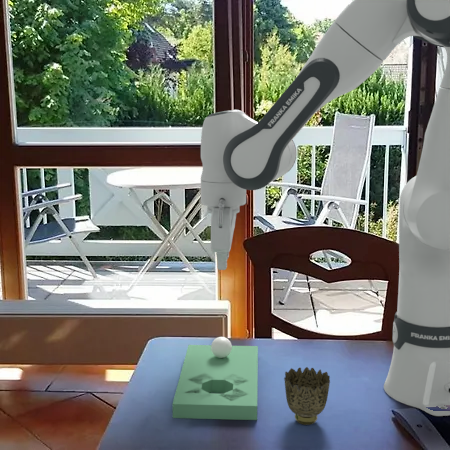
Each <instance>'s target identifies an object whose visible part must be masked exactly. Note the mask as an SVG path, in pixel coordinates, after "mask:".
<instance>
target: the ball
mask: <svg viewBox="0 0 450 450" xmlns="http://www.w3.org/2000/svg"><path fill="white" fill-rule="evenodd" d="M210 345H211V350H212V353H213V354H214V355H215V356H216V357H218V358H225V357H227V356H228V355H229V354H230V353H231V350H232V346H233V345H232V342H231V340H230V339H228V338H227V337H225V336H218V337H216V338H214V340H213V341H212V342H211V344H210Z"/></svg>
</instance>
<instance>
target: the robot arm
mask: <svg viewBox="0 0 450 450" xmlns="http://www.w3.org/2000/svg"><path fill="white" fill-rule="evenodd" d="M410 37H414V38H415V39H418V40H421V41H423V42H426V43H428V44H431V45H433V46H435V47H439V48H444V50H445V52H446V65H445V69H444V73H443V77H442V79H441V81H440V86H439V87H438V92H437V95H436V98H435V101H434V104H433V107H432V111H431V113H430V118H429V120H428V123H427V127H426V129H425V132H424V137H423V144H422V145H423V146H422V150H421V155H420V159H419V163H418V169H417V173H416V175H415V176H414V177H412V178H411V179H409V180H408V181H407V183H406V184H405V185H404V187H403V189H402V190H401V192H400V195H399V196H400V198H399V214H398V215H399V217H398V219H399V221H398V226H399V227H398V233H399V234H398V252H399V253H398V256H399V257H398V258H399V260H398V263H399V265H398V266H399V270H398V271H399V272H398V274H399V275H398V290H397V293H398V294H397V308H396V309H397V311H396V312H395V314H394V319H393V323H392V343H393V351H392V352H393V353H392V356H391V361H390V366H389V370H388V373H387V376H386V379H385V381H384V384H383V389H384V392H385V393H386V394H387V395H388V396H389V397H391V399H393V400H395V401H397V402H399V403H402V404H404V405H407V406H409V407H413V408H417V409H420V410H422V411H423V412H425V413H427V414H429V415H432V416H434V417H443V416H445V417H446V416H447V417H448V416H450V411H433V410H430V409H428V408H426V407H436V406H438V407H439V408H441V409H447V408H448V407H446V405H450V0H351V1H350V2H349V3H348V5H347V6H346V7H345V8H344V9H343V10H342V11H341V12H340V14H339V15H337V17H336V19H335V20H334V21H333V22H332V23H331V25H330V26H329V28H328V29H327V31H326V32H325V33H324V34H323V36H322V37H321V39H320V40H319V42H318V44H317V45H316V46H315V48H314V50H313V51H312V53H311V54H310V56H309V58H308V59H307V60H306V62H305V64H304V65H303V66H302V68H301V70H300V72H299V73H298V74H297V76H296V77H295V78H294V80H292V82H291V83H290V85H289V86H288V87H287V88H286V89H285V90H284V92H283V93H282V94H281V95H280V96H279V97H278V99H277V100H276V101H274V102H275V103H274V104H273V105H271V107H270V108H269V110H268V111H267V112H266V113H265V114H264V115H263V117H262V118H261V119H260V120H259V121H256V120H255V119H253V118H251V117H250V116H249V115H247V114H246V113H245V112H244V111H243V110H239V109H231V110H224V111H219V112H214V113H211V114H209V115H208V116H206V117H205V119H204V120H203V124H202V128H201V135H200V137H201V138H200V160H201V163H202V172H201V175H200V204H201V205H203V206H205V207H206V208H207V209H206V210H207V211H206V212H207V213H208V214H211V217H210V218H211V219H210V249H211V252H212V253H216V254H215V255H216V260H217V261H216V262H217V264H216V265H217V266H216V267H217V270H219V271H225V270H227V268H228V259H229V257H230V251H231V248H232V243H233V237H234V231H235V227H236V219H237V214H238V213H240V212H241V211H240V207H241V206H244V205H246V204H247V191H256V190H257V191H258V190H260V189H264V188H265V187H266V186H268V185H269V184H270V183H271V182H273V181H276V180H277V179H279V178H282V177H283V176H285V175H286V174H287V173H288V172H290V171H291V170H292V168H293V167H294V165H295V163H296V161H297V160H296V159H297V147H296V145H295V142H294V140H293V139H295V137H296V136H297V135H298V133H299V132H301V130H302V129H303V128H304V126H305V125H306V124H307V123H308V122H309V121H310V119H312V117H314V115H315V114H316V113H317V112H318V111H319V110H320V109H321V108H323V107H324V106H325V105H327V104H329V103H330V102H331V101H333V100H335V99H337V98H339V97H341V96H343V95H346V94H347V93H350V92H352V91H354V90H356V89H357V88H358V87H359V86H360V85H361V84H363V83H364V82H365V81H367V80H368V78H370V77H371V76H372V75H373V74H374V73H375V72H376V71H377V70H378V69H379V67H380V66H381V65H382V64H383V63H384V61H386V59H387V58H388V56H389V55H390V54H391V53H393V52H392V51H394V49H395V48H396V47H398V45H399V44H400V43H401V42H403V41H404V40H406V39H407V38H410ZM444 405H445V406H444Z"/></svg>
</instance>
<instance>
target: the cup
mask: <svg viewBox="0 0 450 450" xmlns="http://www.w3.org/2000/svg"><path fill="white" fill-rule="evenodd" d="M330 378H331V377H330V375H329V373H328V371H325V372H322V369H320V368H319V370H318V371H316V370H315V368H314V367H311V368H310V369H309V367H308V366H306V367H305V368H304V369H303V370H302V367H298V368H297V370H296V369H294V368H292V367H291V368H290V369H289V371H285V372H284V378H283V380H284V387H285V388H284V389H285V396H286V403H287V406H288V408H289V409H290V411H291V412H292V413H294V418H295V421H296V423H298V424H300V425H303V426H310V425H314V424H315V423H316V422H317V420H318V415H320V414H322V413H323V411H324V410H325V407H326V406H327V402H328V396H329V390H330V383H331V380H330Z"/></svg>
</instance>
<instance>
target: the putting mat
mask: <svg viewBox="0 0 450 450" xmlns="http://www.w3.org/2000/svg"><path fill="white" fill-rule="evenodd" d="M211 345H212V344H188V346H187V349H186V354H185V356H184V359H183V360H184V361H183V365H182V367H181V372H180V375H179V379H178V382H177V386H176V390H175V394H174V397H173V400H172V405H171V407H172V419H195V420H196V419H198V420H199V419H201V420H202V419H204V420H234V421H235V420H239V421H240V420H241V421H243V420H245V421H247V420H248V421H258V387H259V386H258V373H259V372H258V371H259V368H258V365H259V364H258V363H259V361H258V360H259V358H258V357H259V356H258V355H259V346H258V345H232V350H231V353H230V354H229V355H228V356H227V357H225V358H218V357H216V356H215V355H214V354H213V353H212V350H211Z"/></svg>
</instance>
